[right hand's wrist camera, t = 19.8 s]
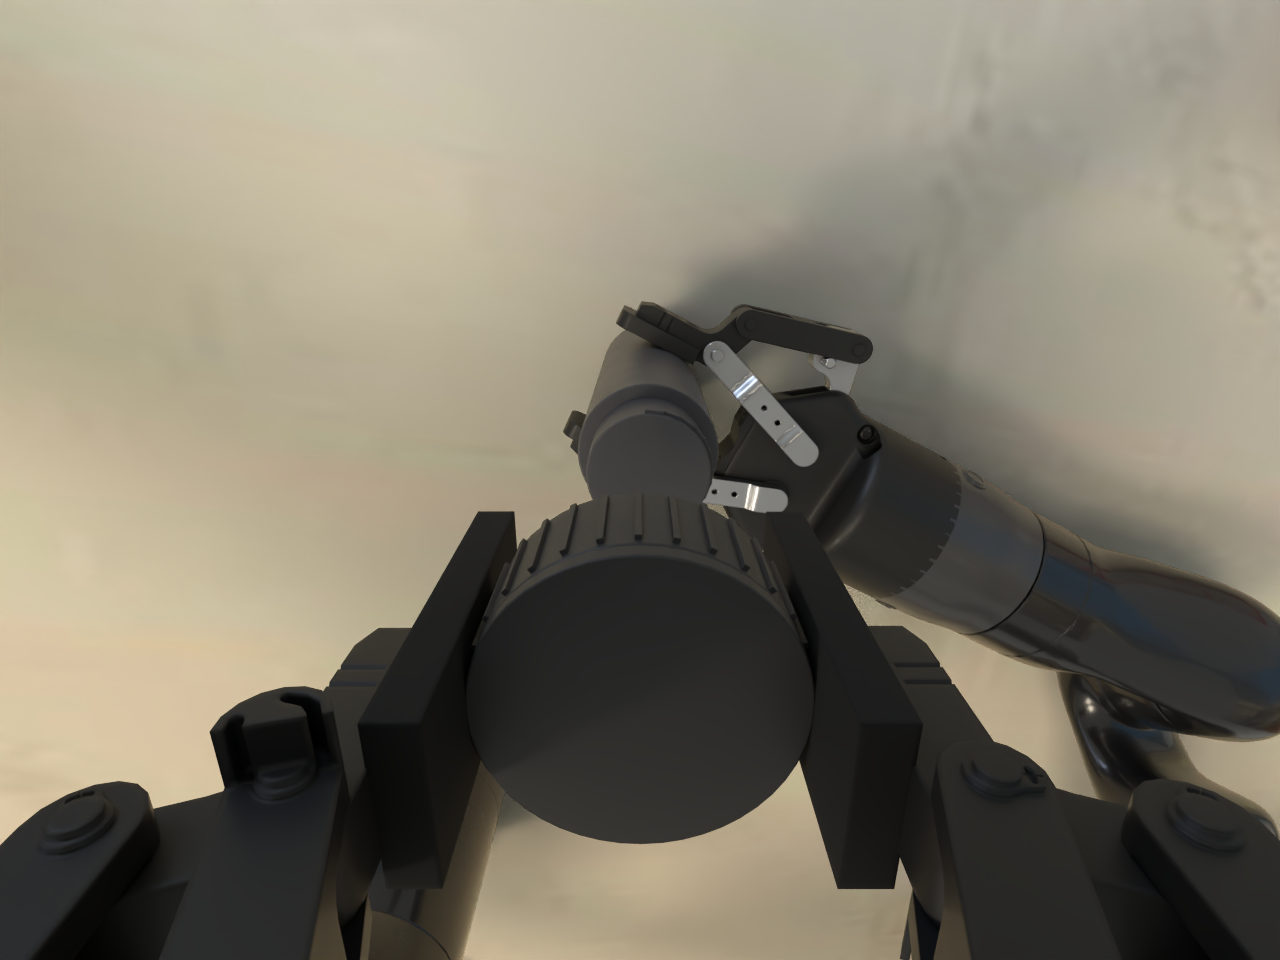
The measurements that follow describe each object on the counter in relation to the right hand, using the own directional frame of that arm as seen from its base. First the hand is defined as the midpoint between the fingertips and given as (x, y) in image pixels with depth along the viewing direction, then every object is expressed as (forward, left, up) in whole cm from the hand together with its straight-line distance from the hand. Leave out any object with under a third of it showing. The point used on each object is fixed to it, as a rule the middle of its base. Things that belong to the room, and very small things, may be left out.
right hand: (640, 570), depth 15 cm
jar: (0, 0, -24) cm, 24 cm away
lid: (0, 0, +4) cm, 4 cm away
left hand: (-1, +2, -17) cm, 17 cm away
